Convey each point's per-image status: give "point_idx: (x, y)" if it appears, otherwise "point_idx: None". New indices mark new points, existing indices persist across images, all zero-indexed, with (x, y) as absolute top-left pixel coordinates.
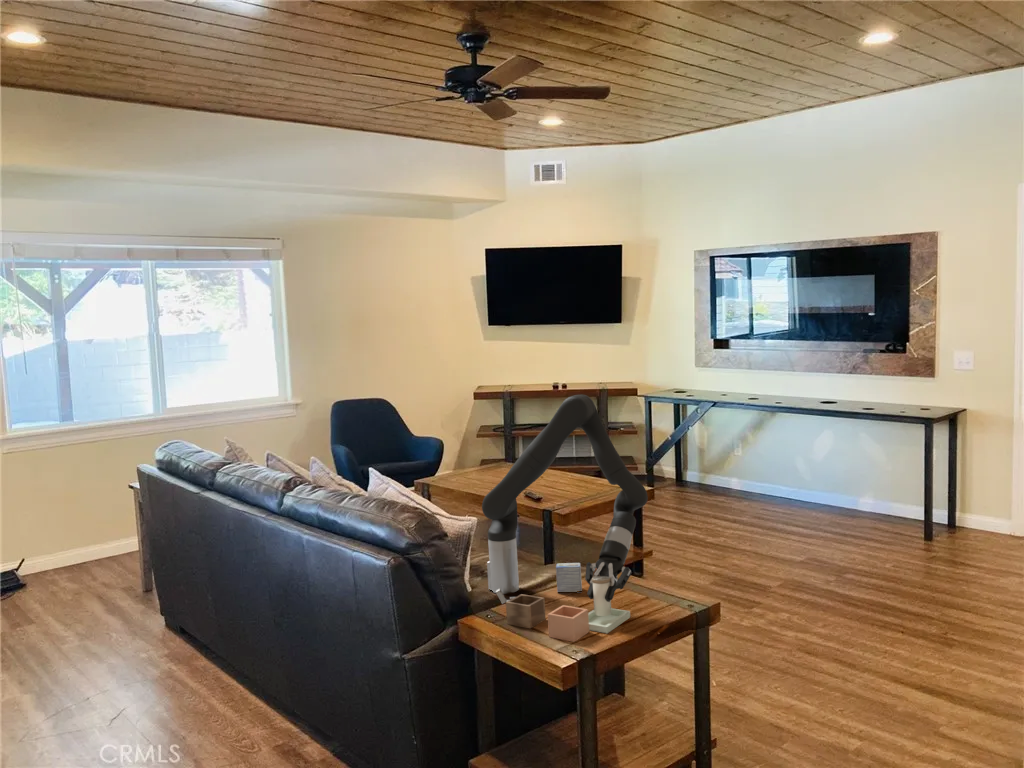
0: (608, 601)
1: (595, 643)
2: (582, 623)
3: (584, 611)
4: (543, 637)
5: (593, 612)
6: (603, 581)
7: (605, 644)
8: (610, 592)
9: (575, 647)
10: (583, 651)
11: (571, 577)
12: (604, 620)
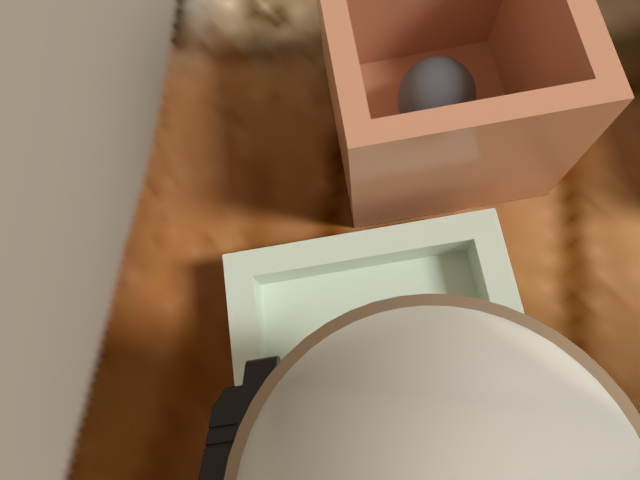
0: None
1: (238, 147)
2: (335, 102)
3: (338, 92)
4: None
5: None
6: (271, 379)
7: (181, 169)
8: (227, 447)
9: (298, 47)
10: (230, 36)
11: None
12: None
